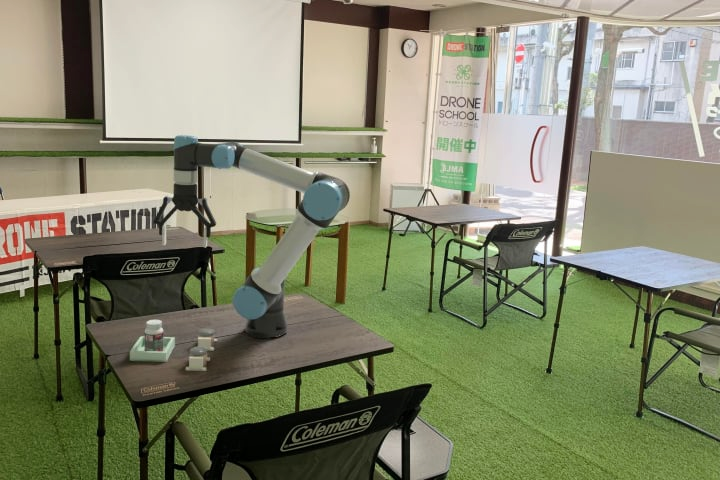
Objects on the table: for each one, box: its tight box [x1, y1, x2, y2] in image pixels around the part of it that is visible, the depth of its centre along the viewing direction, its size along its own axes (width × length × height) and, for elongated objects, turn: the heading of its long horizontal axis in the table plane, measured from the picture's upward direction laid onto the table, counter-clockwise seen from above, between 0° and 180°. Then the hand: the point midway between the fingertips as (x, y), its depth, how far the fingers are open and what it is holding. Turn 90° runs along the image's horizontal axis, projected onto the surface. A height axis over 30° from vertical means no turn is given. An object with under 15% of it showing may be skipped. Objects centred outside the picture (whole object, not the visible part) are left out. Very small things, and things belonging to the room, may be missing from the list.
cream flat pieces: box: [185, 336, 218, 372], centre depth 202 cm, size 6×24×4 cm, turn 5°
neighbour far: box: [198, 328, 216, 347], centre depth 209 cm, size 5×5×5 cm
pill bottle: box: [144, 319, 164, 351], centre depth 200 cm, size 6×6×10 cm
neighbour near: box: [189, 346, 208, 367], centre depth 194 cm, size 5×5×5 cm
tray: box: [129, 335, 176, 363], centre depth 200 cm, size 11×13×3 cm
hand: (184, 245), depth 211 cm, fingers open, 13 cm apart
